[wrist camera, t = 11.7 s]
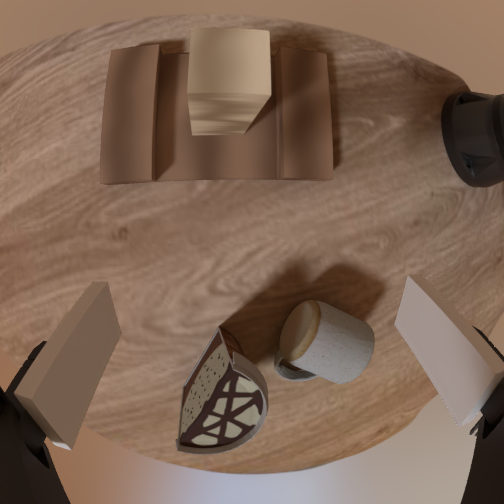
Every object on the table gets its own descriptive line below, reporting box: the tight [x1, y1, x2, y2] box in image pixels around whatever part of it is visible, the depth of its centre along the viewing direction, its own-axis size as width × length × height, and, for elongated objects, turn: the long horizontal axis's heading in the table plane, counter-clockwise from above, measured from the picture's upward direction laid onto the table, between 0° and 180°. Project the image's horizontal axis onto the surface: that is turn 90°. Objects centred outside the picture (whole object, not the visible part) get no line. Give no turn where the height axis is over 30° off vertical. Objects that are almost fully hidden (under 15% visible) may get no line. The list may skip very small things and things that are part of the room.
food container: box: [176, 327, 268, 455], centre depth 27 cm, size 12×6×10 cm, turn 149°
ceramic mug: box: [274, 299, 374, 384], centre depth 29 cm, size 11×8×8 cm
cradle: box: [100, 44, 333, 185], centre depth 25 cm, size 22×14×3 cm, turn 90°
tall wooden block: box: [187, 28, 271, 135], centre depth 21 cm, size 5×5×12 cm
